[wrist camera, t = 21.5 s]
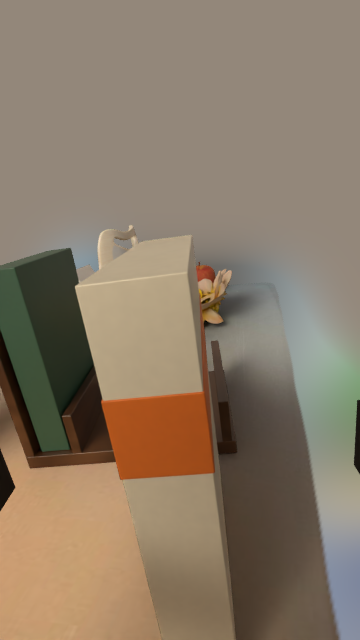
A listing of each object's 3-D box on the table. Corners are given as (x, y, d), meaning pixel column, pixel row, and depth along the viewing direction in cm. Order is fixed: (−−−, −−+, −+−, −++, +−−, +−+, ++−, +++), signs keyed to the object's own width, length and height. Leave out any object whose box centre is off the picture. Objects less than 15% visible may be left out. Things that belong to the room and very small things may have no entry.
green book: (104, 383, 38) (71, 247, 33) (70, 450, 28) (14, 267, 23) (83, 385, 38) (46, 251, 33) (41, 452, 28) (-21, 271, 23)
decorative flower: (165, 300, 67) (169, 252, 63) (219, 306, 67) (227, 259, 63) (157, 332, 53) (162, 274, 49) (225, 340, 53) (236, 282, 49)
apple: (208, 290, 78) (204, 257, 75) (223, 296, 71) (219, 259, 69) (180, 296, 75) (175, 262, 73) (192, 303, 69) (188, 266, 66)
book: (221, 477, 24) (193, 234, 19) (241, 681, 14) (189, 271, 8) (181, 480, 25) (140, 241, 19) (170, 682, 14) (71, 286, 8)
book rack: (224, 379, 38) (213, 267, 34) (237, 452, 27) (222, 299, 22) (77, 393, 39) (48, 288, 35) (29, 468, 28) (-22, 328, 24)
